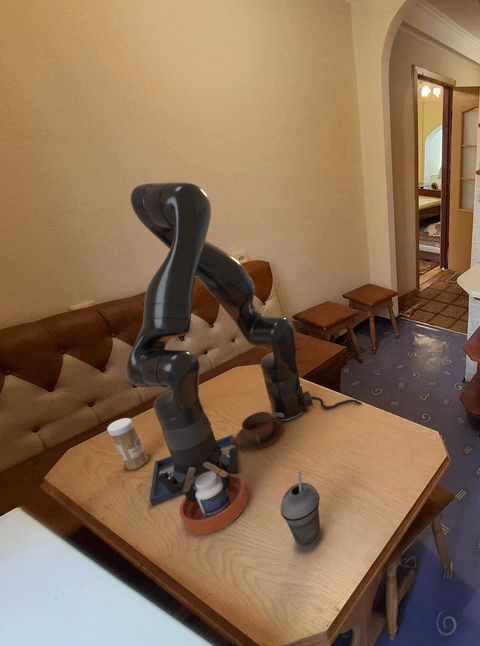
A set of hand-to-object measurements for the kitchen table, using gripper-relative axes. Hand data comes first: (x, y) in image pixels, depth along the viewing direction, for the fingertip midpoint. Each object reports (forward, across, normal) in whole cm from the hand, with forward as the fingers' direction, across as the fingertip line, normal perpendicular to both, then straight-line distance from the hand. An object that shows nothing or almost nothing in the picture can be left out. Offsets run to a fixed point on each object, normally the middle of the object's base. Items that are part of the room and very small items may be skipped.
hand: (211, 492), depth 80 cm
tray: (+6, -4, +16) cm, 18 cm away
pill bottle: (+6, 0, 0) cm, 6 cm away
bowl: (+6, 0, 0) cm, 6 cm away
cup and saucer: (+6, +11, +20) cm, 23 cm away
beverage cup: (+6, +16, -19) cm, 26 cm away
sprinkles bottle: (+6, -17, +27) cm, 32 cm away
